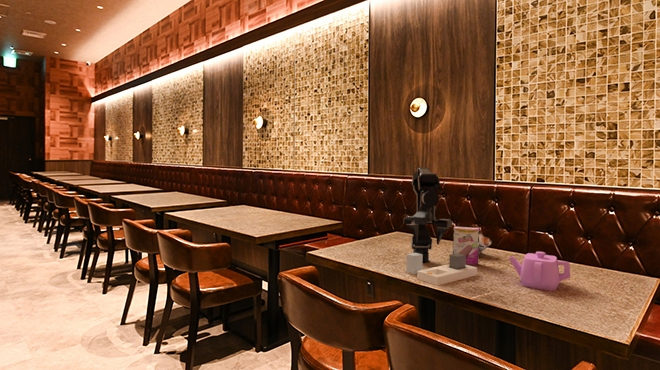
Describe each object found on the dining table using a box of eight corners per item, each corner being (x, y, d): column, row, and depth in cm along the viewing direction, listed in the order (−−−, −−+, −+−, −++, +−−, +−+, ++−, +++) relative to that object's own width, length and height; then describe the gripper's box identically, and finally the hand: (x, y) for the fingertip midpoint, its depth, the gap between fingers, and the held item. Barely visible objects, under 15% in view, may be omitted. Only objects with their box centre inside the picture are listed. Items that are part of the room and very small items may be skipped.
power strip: (417, 279, 157) (417, 270, 157) (456, 270, 171) (456, 261, 171) (437, 286, 149) (437, 276, 149) (476, 276, 163) (477, 266, 162)
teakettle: (537, 293, 143) (538, 258, 142) (505, 279, 159) (506, 248, 158) (576, 289, 147) (578, 256, 146) (541, 276, 163) (542, 246, 163)
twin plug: (449, 274, 163) (449, 254, 163) (456, 272, 166) (457, 253, 166) (457, 276, 160) (457, 256, 160) (465, 274, 163) (465, 255, 163)
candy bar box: (452, 264, 182) (453, 227, 181) (452, 261, 187) (453, 226, 186) (478, 266, 178) (479, 229, 177) (478, 263, 183) (479, 227, 182)
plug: (406, 273, 166) (406, 254, 166) (414, 271, 169) (415, 252, 169) (413, 275, 163) (414, 256, 163) (422, 273, 166) (422, 254, 166)
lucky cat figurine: (479, 250, 209) (491, 229, 203) (484, 265, 199) (496, 243, 192) (452, 242, 209) (463, 220, 203) (455, 256, 199) (466, 233, 192)
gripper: (397, 204, 162) (396, 243, 162) (441, 207, 150) (441, 248, 151) (410, 202, 170) (409, 239, 171) (453, 205, 159) (452, 244, 159)
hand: (426, 243), depth 163 cm, fingers open, 9 cm apart
